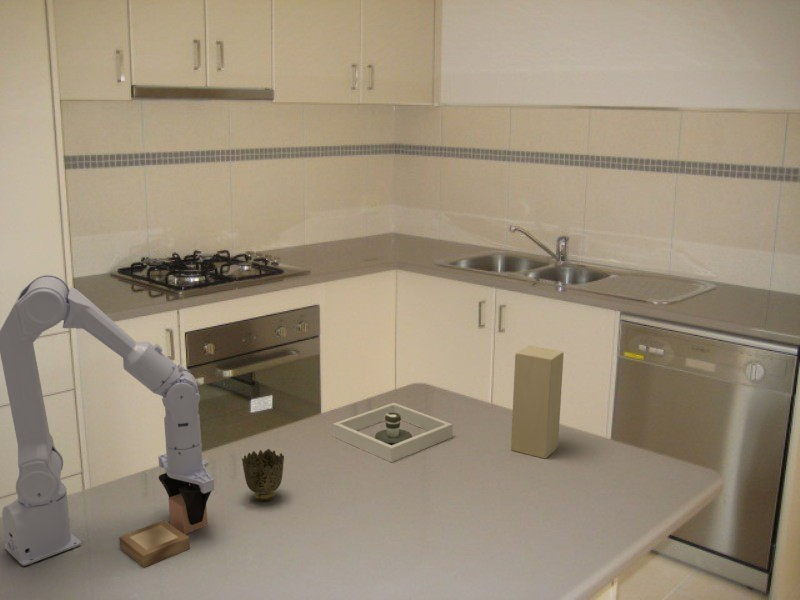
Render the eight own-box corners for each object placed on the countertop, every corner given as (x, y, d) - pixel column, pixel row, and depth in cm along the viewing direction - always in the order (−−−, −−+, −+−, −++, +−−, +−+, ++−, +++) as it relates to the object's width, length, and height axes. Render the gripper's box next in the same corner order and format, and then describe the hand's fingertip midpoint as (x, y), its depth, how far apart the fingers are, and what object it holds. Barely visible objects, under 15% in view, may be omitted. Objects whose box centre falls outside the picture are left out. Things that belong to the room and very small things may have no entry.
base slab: (144, 567, 132) (143, 555, 132) (120, 548, 138) (119, 536, 137) (189, 548, 137) (189, 537, 137) (164, 530, 143) (163, 519, 142)
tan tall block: (560, 446, 177) (565, 350, 172) (546, 459, 171) (551, 359, 166) (525, 438, 181) (528, 344, 176) (510, 450, 175) (513, 353, 170)
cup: (293, 497, 155) (292, 456, 153) (261, 511, 149) (259, 469, 147) (268, 485, 160) (266, 445, 158) (235, 498, 154) (233, 457, 152)
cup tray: (391, 462, 169) (391, 448, 169) (333, 436, 182) (333, 423, 181) (452, 437, 181) (452, 424, 181) (393, 415, 194) (393, 402, 193)
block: (184, 534, 142) (182, 506, 141) (170, 524, 145) (168, 497, 144) (207, 524, 145) (205, 498, 144) (193, 515, 148) (191, 489, 147)
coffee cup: (421, 447, 176) (421, 425, 174) (363, 447, 176) (362, 425, 175) (420, 425, 187) (420, 404, 186) (366, 425, 187) (365, 404, 186)
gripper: (228, 448, 139) (232, 524, 142) (182, 424, 149) (187, 495, 152) (190, 461, 134) (195, 539, 138) (145, 435, 144) (151, 508, 148)
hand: (188, 517), depth 145 cm, fingers closed on block, 4 cm apart
